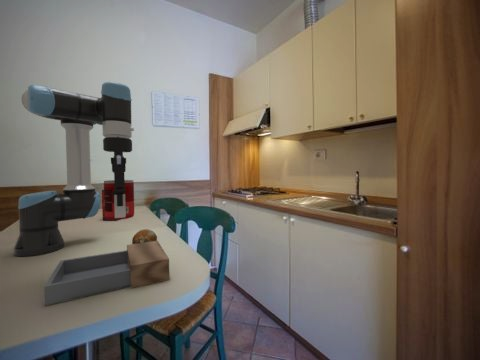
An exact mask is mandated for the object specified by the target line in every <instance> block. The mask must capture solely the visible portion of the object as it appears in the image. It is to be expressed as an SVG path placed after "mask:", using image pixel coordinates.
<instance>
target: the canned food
mask: <svg viewBox="0 0 480 360" xmlns="http://www.w3.org/2000/svg"><path fill="white" fill-rule="evenodd" d="M134 183H135V182H134V180H133V179H125V210H126V217H123V218H115V207H114V195H112V192H114V189H115V184H114V180H113V179H112V180H104V181H103V190H104V208H105V218H106V219H108V220H118V221H121V220H125V219H130V218H133V217H134V215H135V184H134ZM120 219H121V220H120Z"/></svg>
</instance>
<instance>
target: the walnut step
mask: <svg viewBox="0 0 480 360" xmlns="http://www.w3.org/2000/svg"><path fill="white" fill-rule="evenodd" d="M126 250H127V260H128V269H130V276H131V287H130V289H133V288H138V287H141V286H147V285H151V284H155V283H158V282H159V283H160V282H164V281H168V280H170V258H169V257H168V256H169V255H167V253H166V252H165V250H164V249H163V247H162V245H161V244H160V241H158V240H157V241H152V242H145V243H138V244H126Z"/></svg>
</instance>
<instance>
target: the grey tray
mask: <svg viewBox="0 0 480 360" xmlns="http://www.w3.org/2000/svg"><path fill="white" fill-rule="evenodd" d="M126 288H131V276H130V269H128V260H127V249H126V250H121V251H114V252H107V253H102V254H94V255H88V256H81V257H76V258H69V259H63V260H59V262H58V264H57V265H56V267H55V269H54V270H53V272H52V273H51V275H50V277H49V278H48V280H47V282H46V283H45V285H44V289H43V291H44V306H50V305H54V304H59V303H63V302H67V301H72V300H77V299H81V298H86V297H90V296H94V295H98V294H99V295H100V294H103V293H108V292H113V291H116V290H121V289H126Z"/></svg>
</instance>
